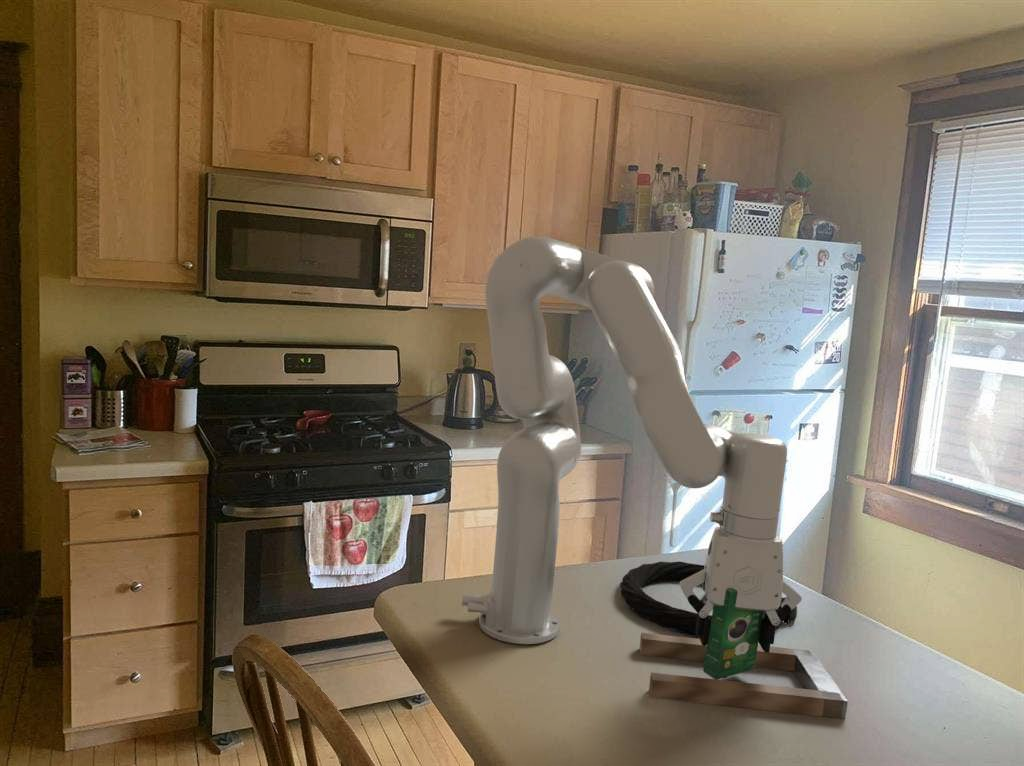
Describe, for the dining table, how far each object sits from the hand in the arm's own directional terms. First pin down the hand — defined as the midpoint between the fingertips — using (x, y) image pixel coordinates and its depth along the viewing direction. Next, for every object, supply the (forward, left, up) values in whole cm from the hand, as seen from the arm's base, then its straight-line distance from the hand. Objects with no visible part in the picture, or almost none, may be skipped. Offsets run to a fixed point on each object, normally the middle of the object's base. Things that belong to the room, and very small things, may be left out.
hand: (733, 643), depth 107 cm
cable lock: (+2, +26, -6) cm, 27 cm away
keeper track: (+1, 0, -5) cm, 5 cm away
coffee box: (0, 0, -4) cm, 4 cm away
